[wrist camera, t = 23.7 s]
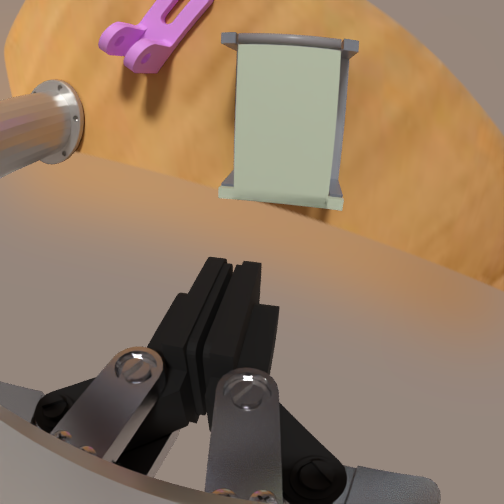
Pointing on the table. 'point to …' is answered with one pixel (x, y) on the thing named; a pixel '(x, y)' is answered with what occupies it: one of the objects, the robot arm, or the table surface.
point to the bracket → (151, 35)
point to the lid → (285, 120)
